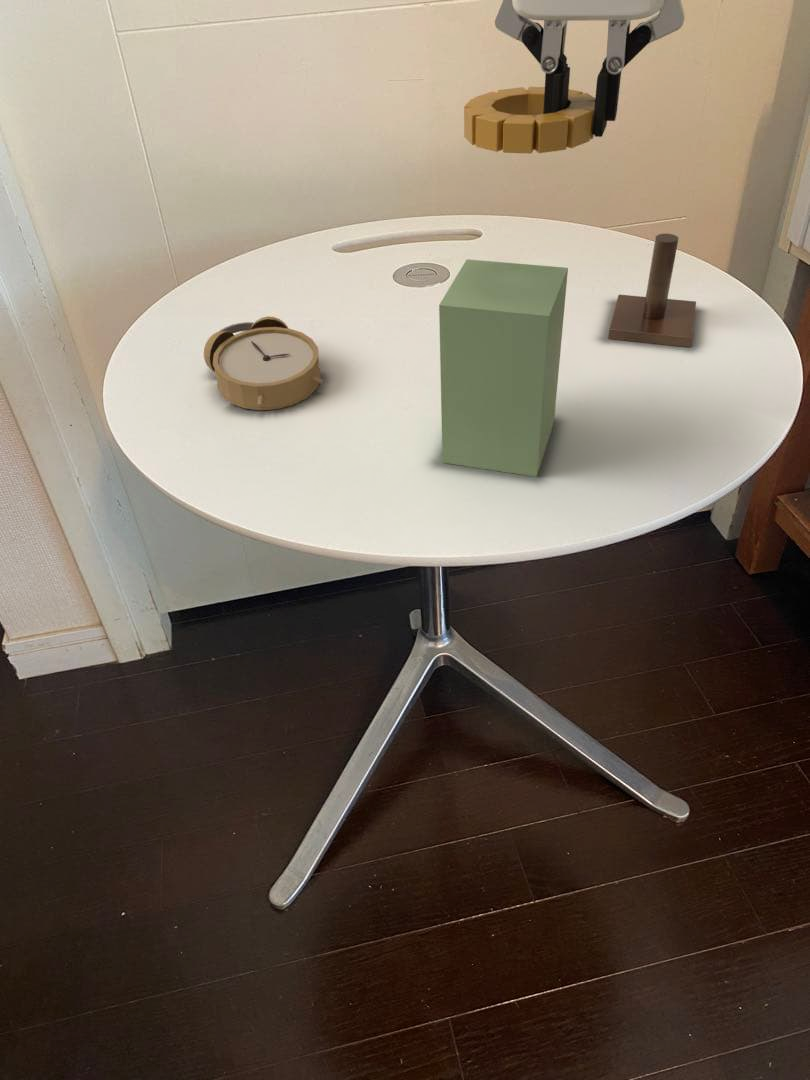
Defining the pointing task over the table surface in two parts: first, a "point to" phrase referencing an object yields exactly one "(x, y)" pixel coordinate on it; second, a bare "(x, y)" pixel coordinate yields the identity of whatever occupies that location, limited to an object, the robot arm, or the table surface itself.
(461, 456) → the sage green upright pillar
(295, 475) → the table surface
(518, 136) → the brass ring
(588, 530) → the table surface
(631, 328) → the peg stand
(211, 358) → the alarm clock
